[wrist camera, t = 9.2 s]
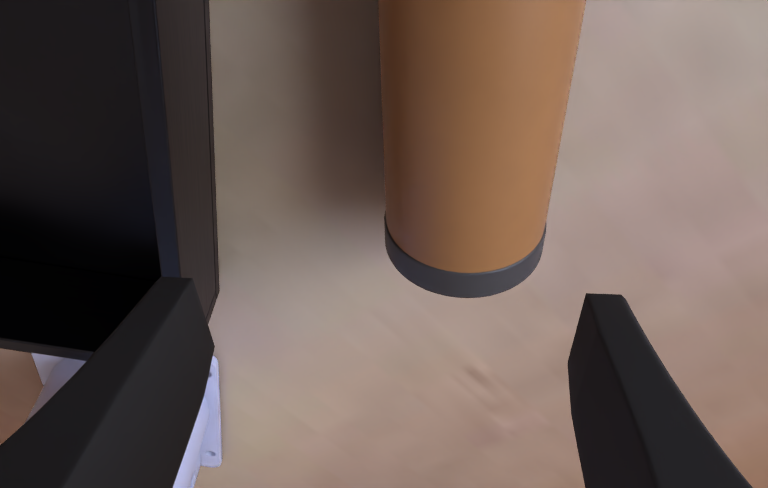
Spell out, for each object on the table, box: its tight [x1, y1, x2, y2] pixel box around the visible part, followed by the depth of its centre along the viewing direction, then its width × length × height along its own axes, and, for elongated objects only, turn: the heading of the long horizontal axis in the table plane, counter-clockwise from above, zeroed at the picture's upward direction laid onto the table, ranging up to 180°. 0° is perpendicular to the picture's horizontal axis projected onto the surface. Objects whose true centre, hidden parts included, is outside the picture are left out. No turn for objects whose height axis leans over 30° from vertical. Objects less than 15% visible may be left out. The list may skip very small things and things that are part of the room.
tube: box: [378, 0, 586, 298], centre depth 16 cm, size 11×5×5 cm, turn 2°
